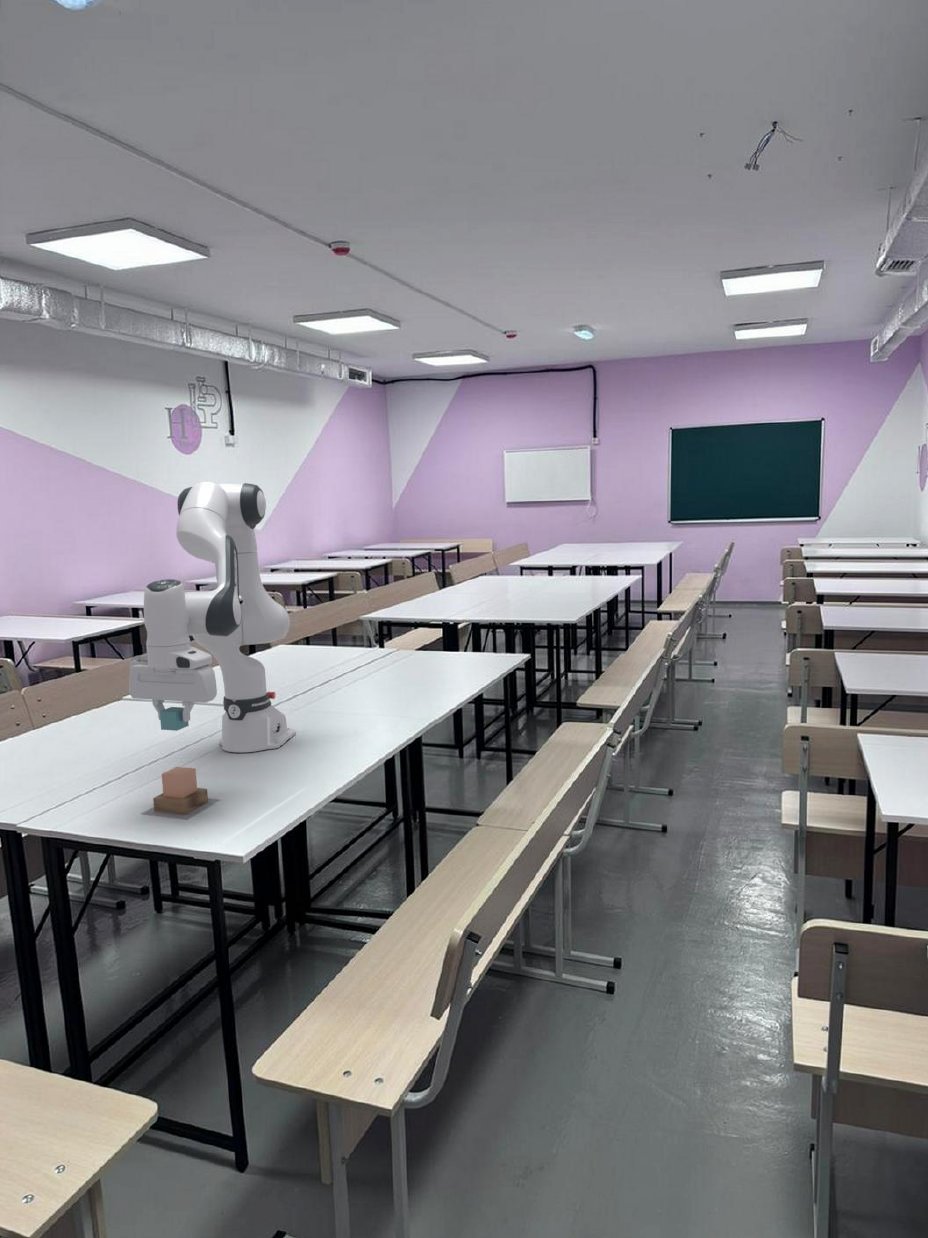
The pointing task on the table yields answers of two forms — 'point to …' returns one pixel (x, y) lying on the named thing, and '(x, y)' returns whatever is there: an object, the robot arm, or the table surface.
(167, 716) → the teal cube
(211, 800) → the mat
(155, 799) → the base brick
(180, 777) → the terracotta cube
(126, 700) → the table surface
